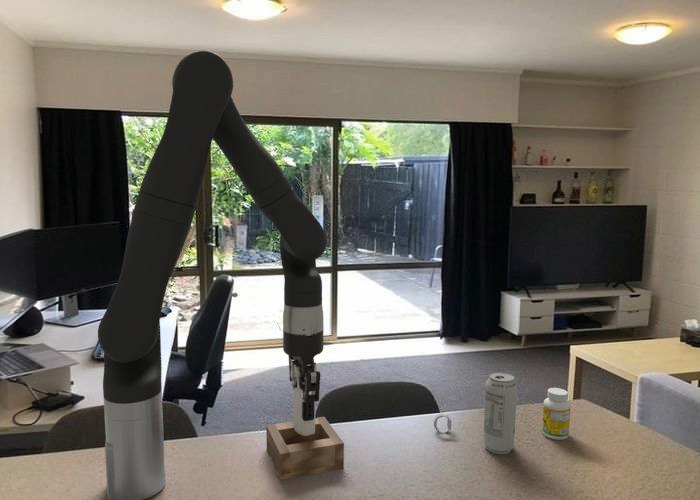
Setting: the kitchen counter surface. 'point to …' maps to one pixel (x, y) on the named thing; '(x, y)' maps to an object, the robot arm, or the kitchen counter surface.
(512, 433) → the energy drink can
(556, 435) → the supplement bottle
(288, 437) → the socket block
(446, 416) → the smartwatch
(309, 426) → the eye dropper bottle
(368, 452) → the kitchen counter surface
